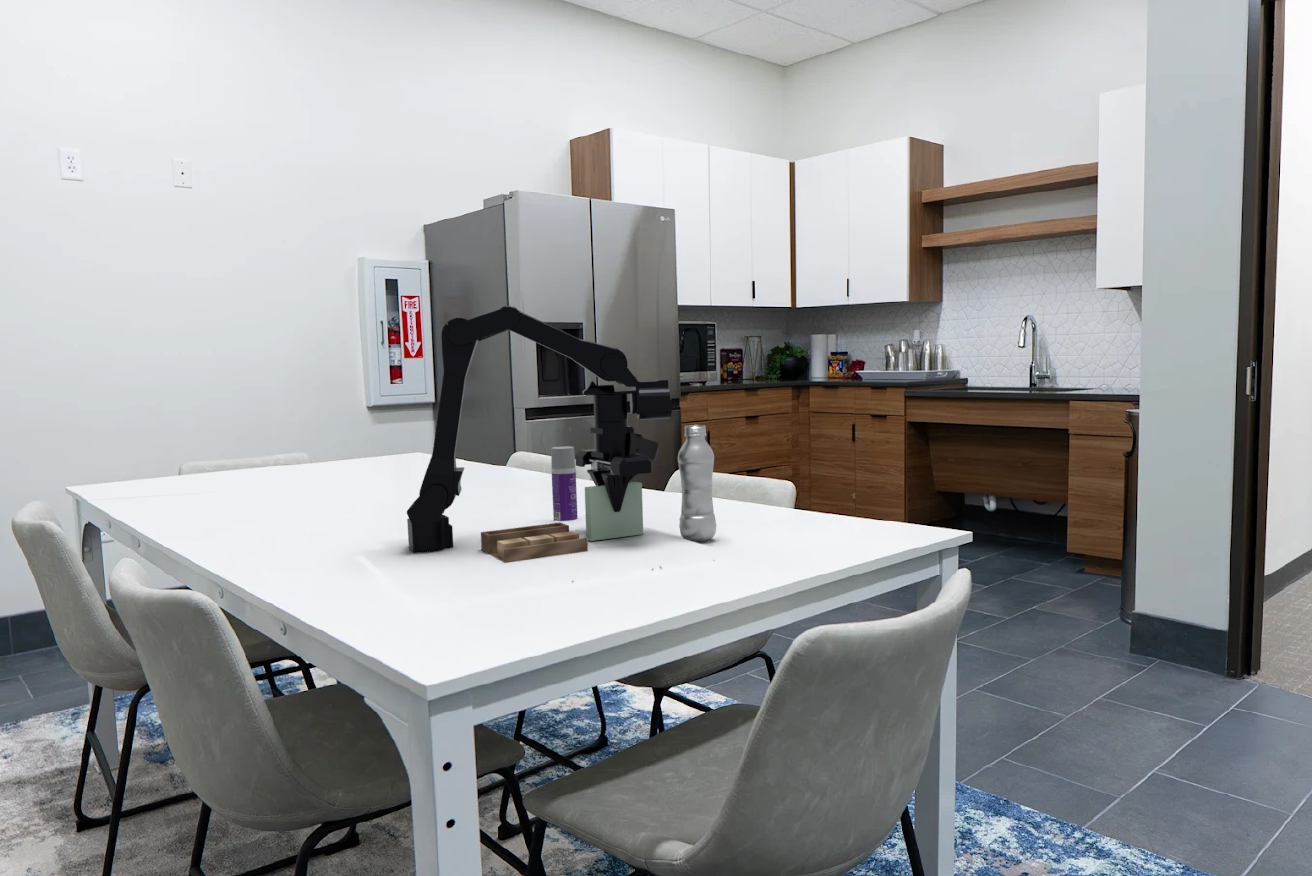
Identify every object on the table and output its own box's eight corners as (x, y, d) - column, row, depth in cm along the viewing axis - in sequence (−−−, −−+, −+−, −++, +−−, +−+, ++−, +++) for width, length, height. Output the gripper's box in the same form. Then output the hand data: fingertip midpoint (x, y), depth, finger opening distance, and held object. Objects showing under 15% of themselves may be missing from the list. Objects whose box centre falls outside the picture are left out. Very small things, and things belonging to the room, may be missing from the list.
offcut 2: (531, 555, 145) (530, 540, 145) (524, 552, 148) (523, 537, 148) (554, 552, 147) (553, 537, 147) (547, 549, 150) (546, 534, 150)
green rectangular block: (591, 540, 155) (589, 488, 154) (586, 539, 157) (584, 487, 156) (643, 533, 160) (641, 483, 159) (637, 532, 161) (636, 481, 161)
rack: (505, 568, 141) (504, 543, 141) (480, 555, 152) (479, 531, 151) (588, 556, 148) (587, 532, 148) (559, 544, 159) (558, 521, 158)
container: (576, 525, 176) (573, 448, 175) (552, 526, 176) (549, 449, 175) (578, 521, 181) (576, 446, 180) (555, 521, 181) (552, 446, 180)
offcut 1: (504, 559, 143) (503, 544, 143) (497, 556, 146) (497, 541, 146) (528, 556, 145) (527, 540, 145) (521, 553, 148) (520, 537, 148)
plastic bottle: (717, 536, 161) (714, 423, 159) (716, 544, 154) (713, 427, 153) (681, 537, 162) (677, 424, 160) (678, 545, 155) (674, 427, 153)
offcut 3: (557, 552, 148) (556, 537, 147) (550, 549, 150) (549, 534, 150) (579, 549, 150) (579, 534, 149) (572, 546, 152) (571, 531, 152)
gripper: (679, 420, 152) (681, 513, 153) (628, 416, 168) (630, 499, 170) (619, 424, 147) (622, 520, 148) (572, 419, 163) (575, 505, 164)
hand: (614, 510), depth 158 cm, fingers closed on green rectangular block, 2 cm apart
